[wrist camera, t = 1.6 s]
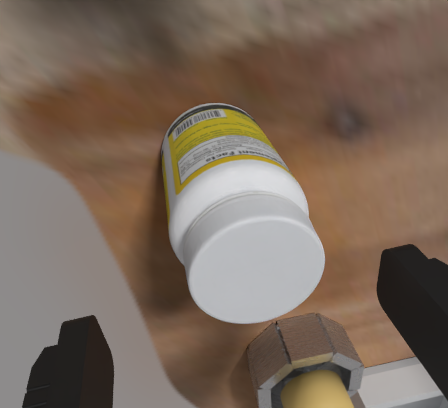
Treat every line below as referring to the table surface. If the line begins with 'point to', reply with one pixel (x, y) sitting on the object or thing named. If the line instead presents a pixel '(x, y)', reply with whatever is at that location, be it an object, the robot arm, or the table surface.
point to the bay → (398, 387)
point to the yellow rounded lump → (316, 391)
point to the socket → (301, 356)
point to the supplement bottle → (237, 217)
